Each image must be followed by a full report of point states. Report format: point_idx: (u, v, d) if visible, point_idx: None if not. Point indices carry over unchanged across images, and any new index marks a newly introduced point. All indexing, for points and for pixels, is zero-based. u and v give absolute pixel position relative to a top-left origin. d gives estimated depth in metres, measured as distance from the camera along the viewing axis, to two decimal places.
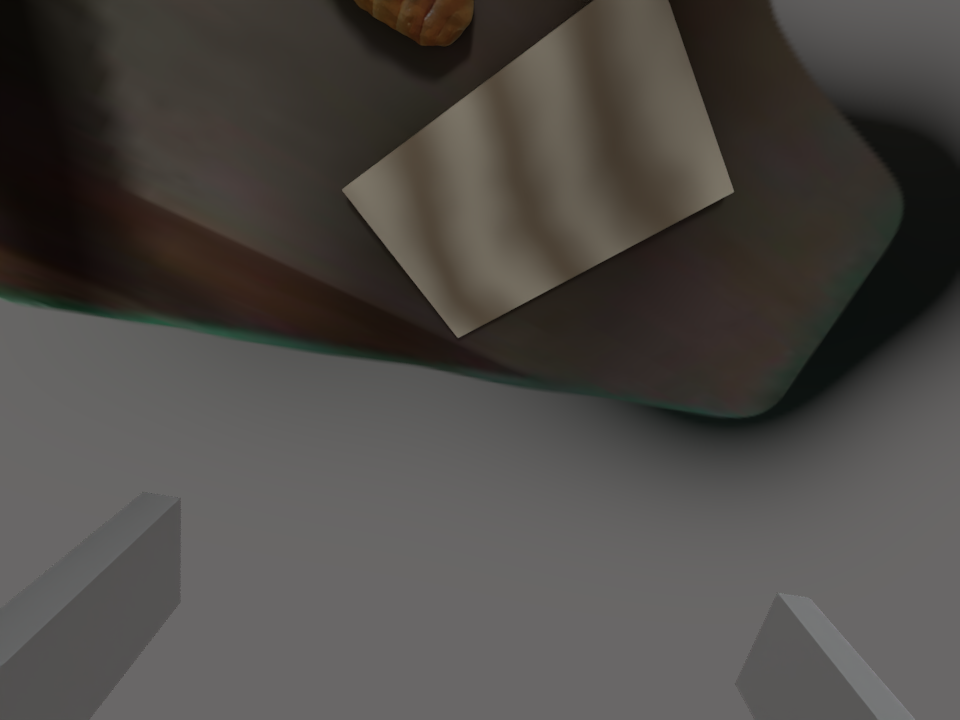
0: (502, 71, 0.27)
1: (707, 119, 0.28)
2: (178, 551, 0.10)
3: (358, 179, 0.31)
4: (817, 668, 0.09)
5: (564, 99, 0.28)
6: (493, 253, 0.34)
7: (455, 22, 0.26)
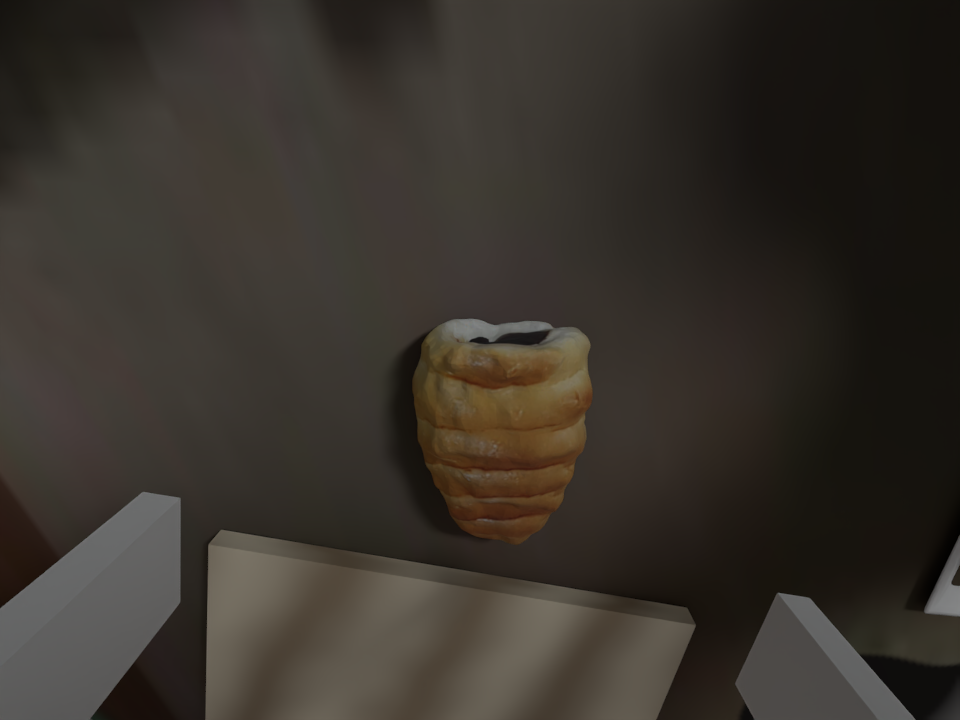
0: (497, 594, 0.21)
1: None
2: (177, 550, 0.10)
3: (242, 551, 0.20)
4: (817, 668, 0.09)
5: (533, 656, 0.22)
6: (334, 718, 0.23)
7: (504, 537, 0.19)
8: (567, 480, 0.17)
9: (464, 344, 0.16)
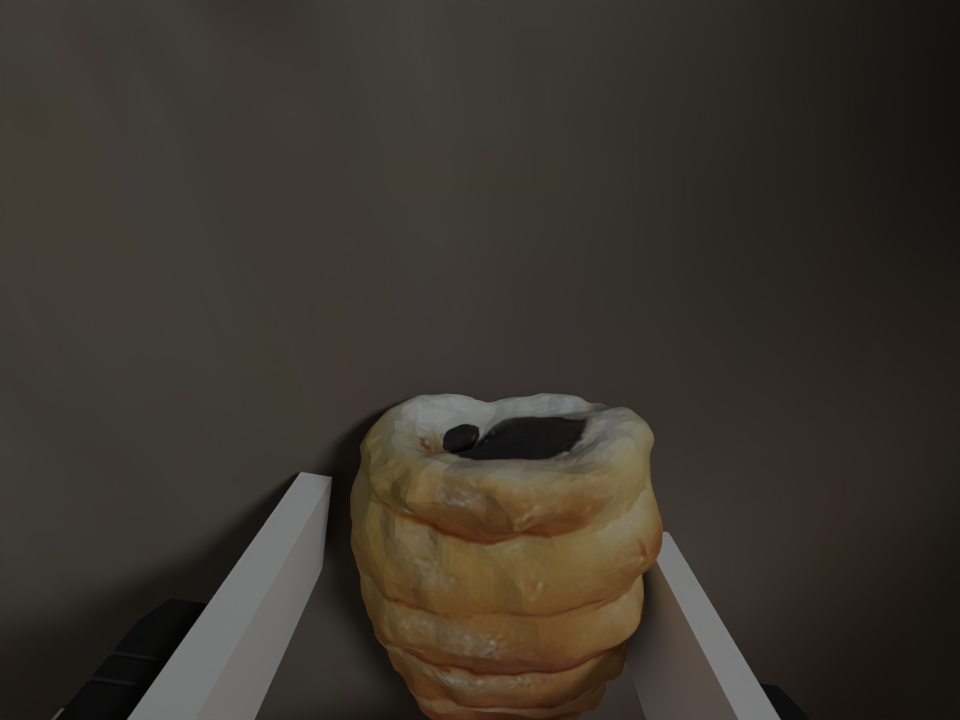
0: None
1: None
2: (325, 523, 0.12)
3: None
4: (656, 584, 0.10)
5: None
6: None
7: None
8: (618, 673, 0.10)
9: (431, 461, 0.08)
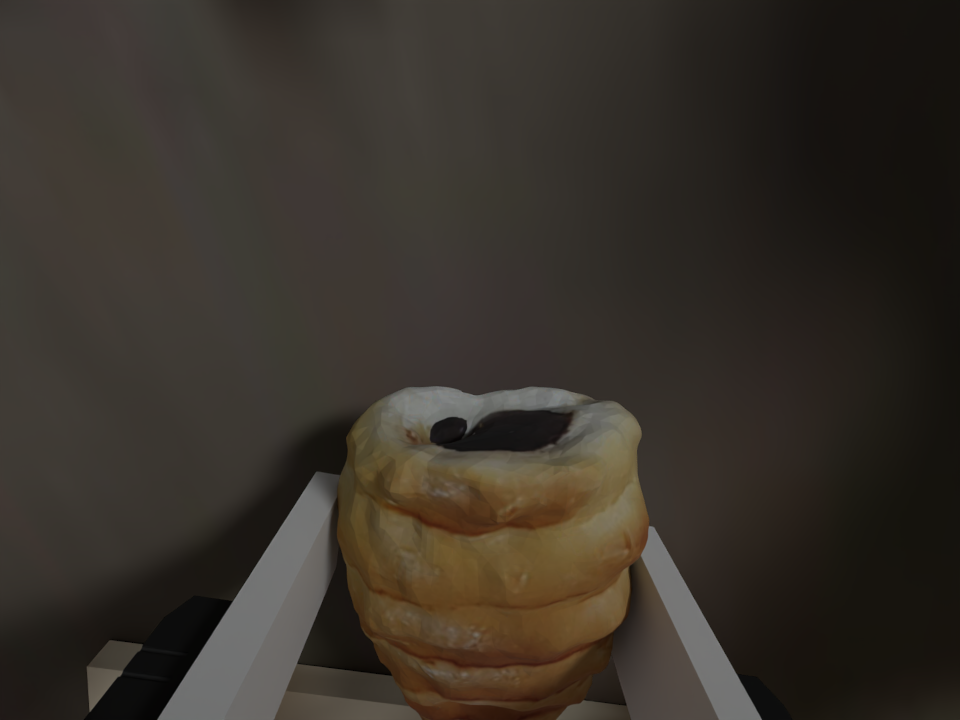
0: None
1: None
2: None
3: None
4: (640, 577, 0.10)
5: None
6: None
7: None
8: (603, 667, 0.10)
9: (416, 452, 0.08)
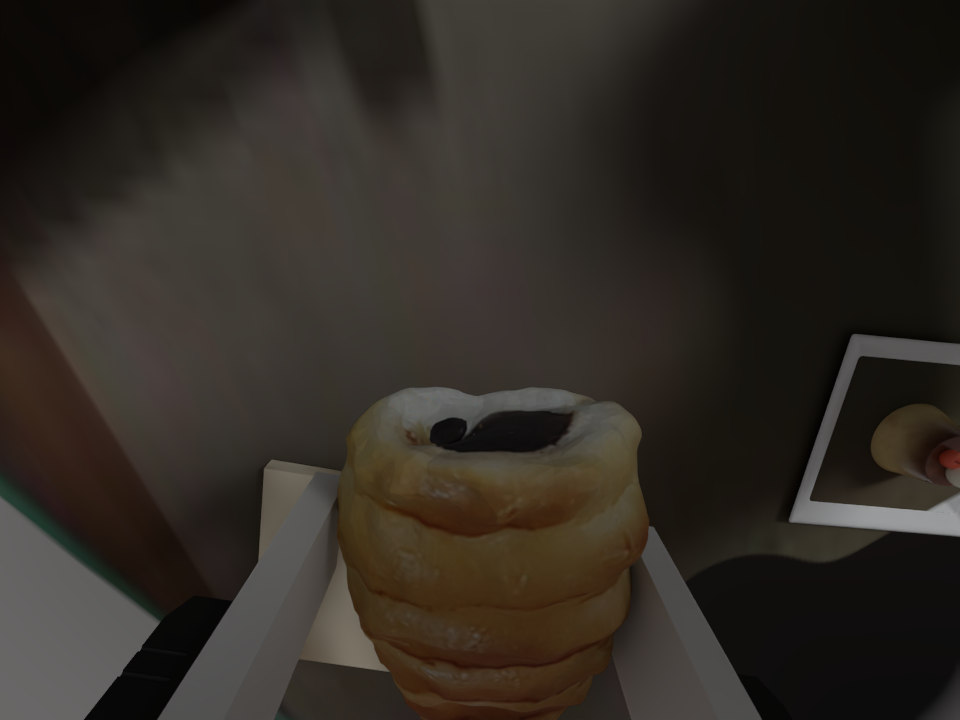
0: None
1: None
2: None
3: (289, 473, 0.27)
4: (640, 578, 0.10)
5: None
6: None
7: None
8: (603, 668, 0.10)
9: (416, 453, 0.08)
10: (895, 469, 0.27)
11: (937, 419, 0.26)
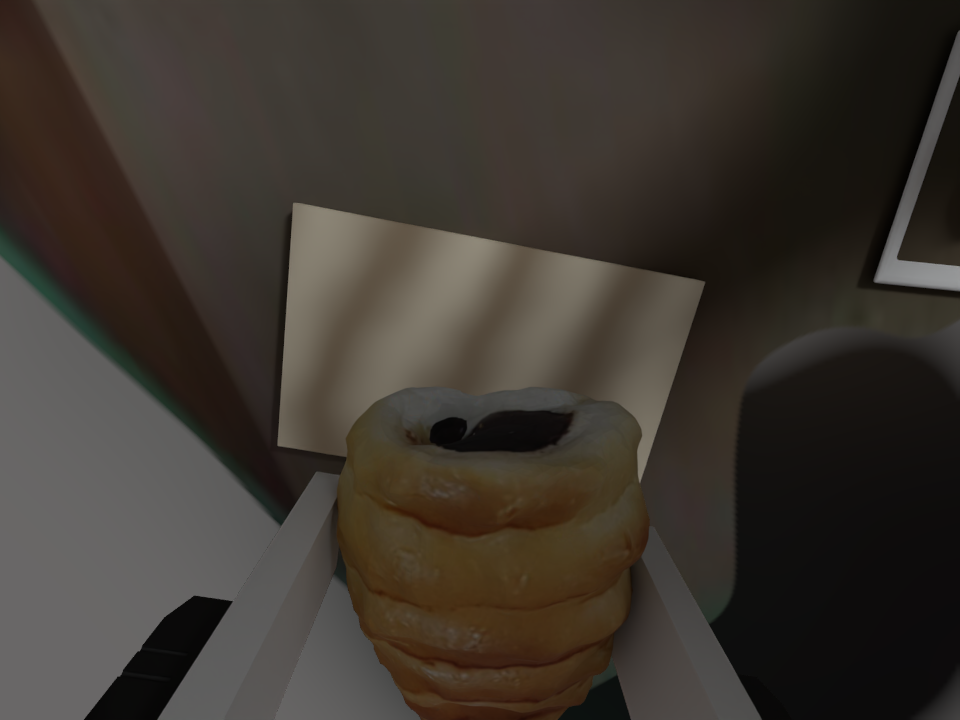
0: (538, 251, 0.25)
1: (655, 430, 0.28)
2: None
3: (321, 210, 0.24)
4: (640, 577, 0.10)
5: (567, 319, 0.26)
6: (393, 392, 0.27)
7: None
8: (603, 668, 0.10)
9: (415, 453, 0.08)
10: None
11: None
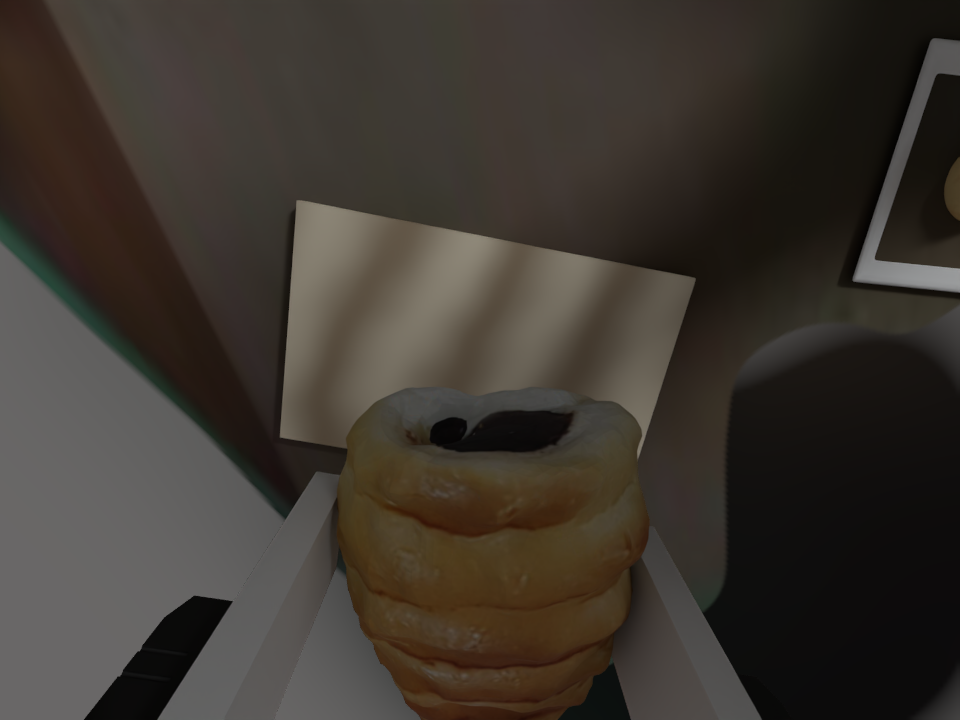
0: (534, 248, 0.25)
1: (648, 423, 0.28)
2: None
3: (324, 207, 0.25)
4: (640, 578, 0.10)
5: (562, 314, 0.26)
6: (393, 385, 0.28)
7: None
8: (603, 668, 0.10)
9: (415, 453, 0.08)
10: None
11: None
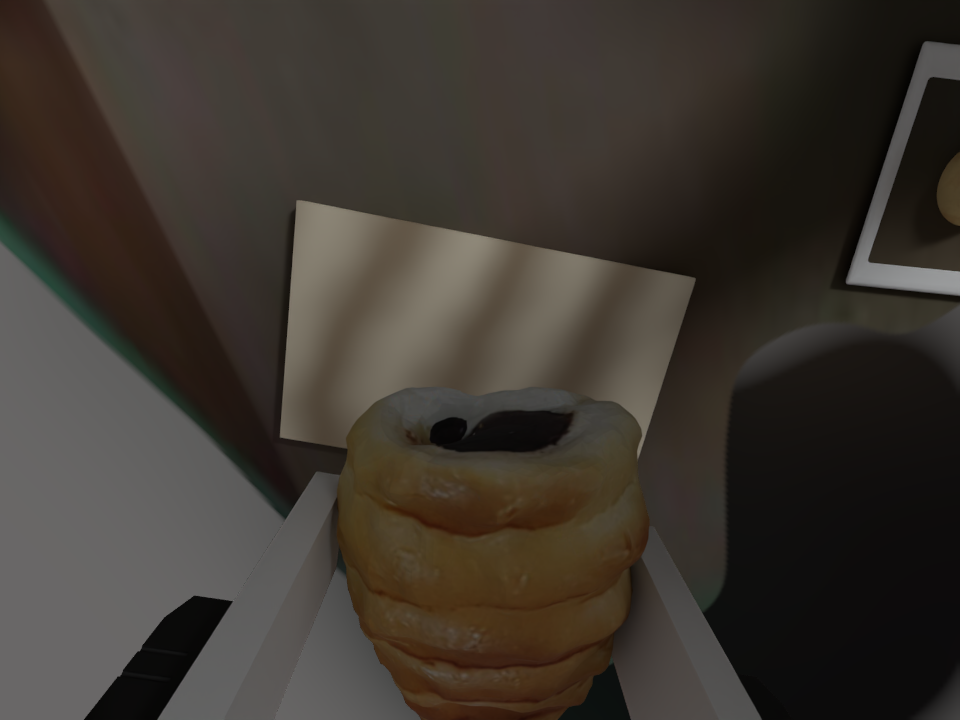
0: (534, 248, 0.25)
1: (648, 423, 0.28)
2: None
3: (324, 207, 0.25)
4: (640, 578, 0.10)
5: (562, 314, 0.26)
6: (393, 385, 0.28)
7: None
8: (603, 668, 0.10)
9: (415, 453, 0.08)
10: None
11: None
